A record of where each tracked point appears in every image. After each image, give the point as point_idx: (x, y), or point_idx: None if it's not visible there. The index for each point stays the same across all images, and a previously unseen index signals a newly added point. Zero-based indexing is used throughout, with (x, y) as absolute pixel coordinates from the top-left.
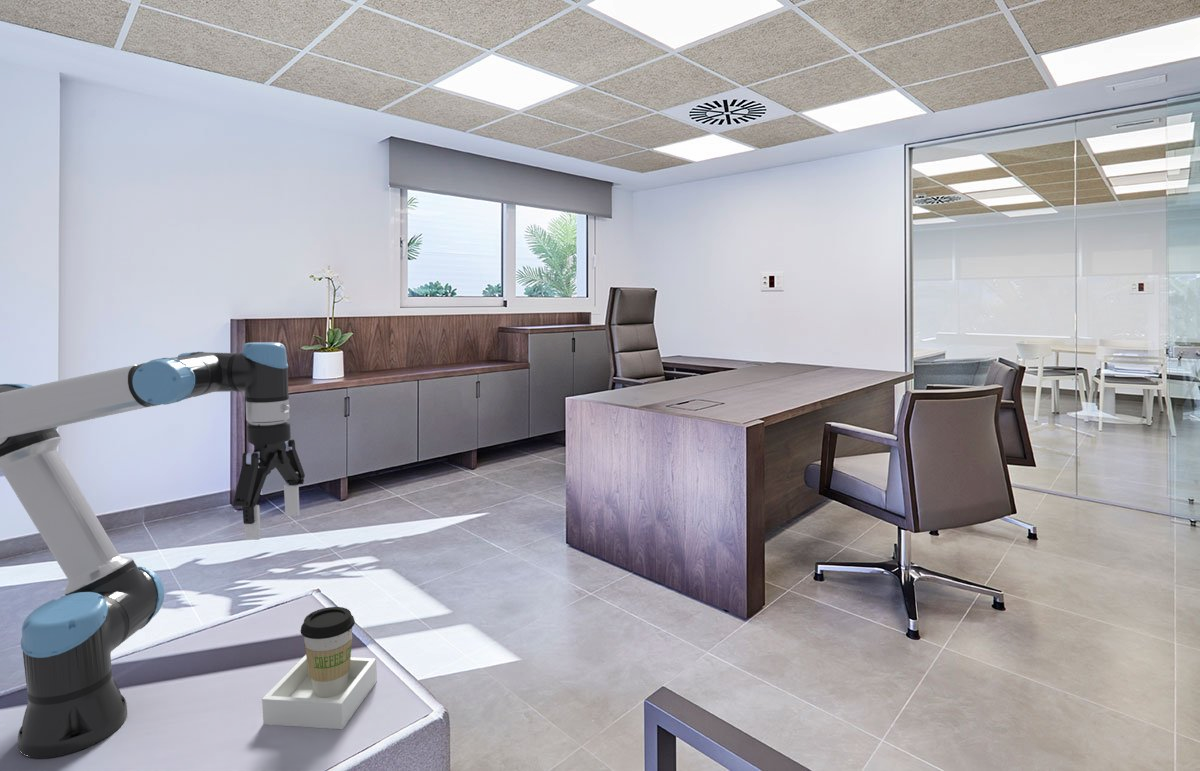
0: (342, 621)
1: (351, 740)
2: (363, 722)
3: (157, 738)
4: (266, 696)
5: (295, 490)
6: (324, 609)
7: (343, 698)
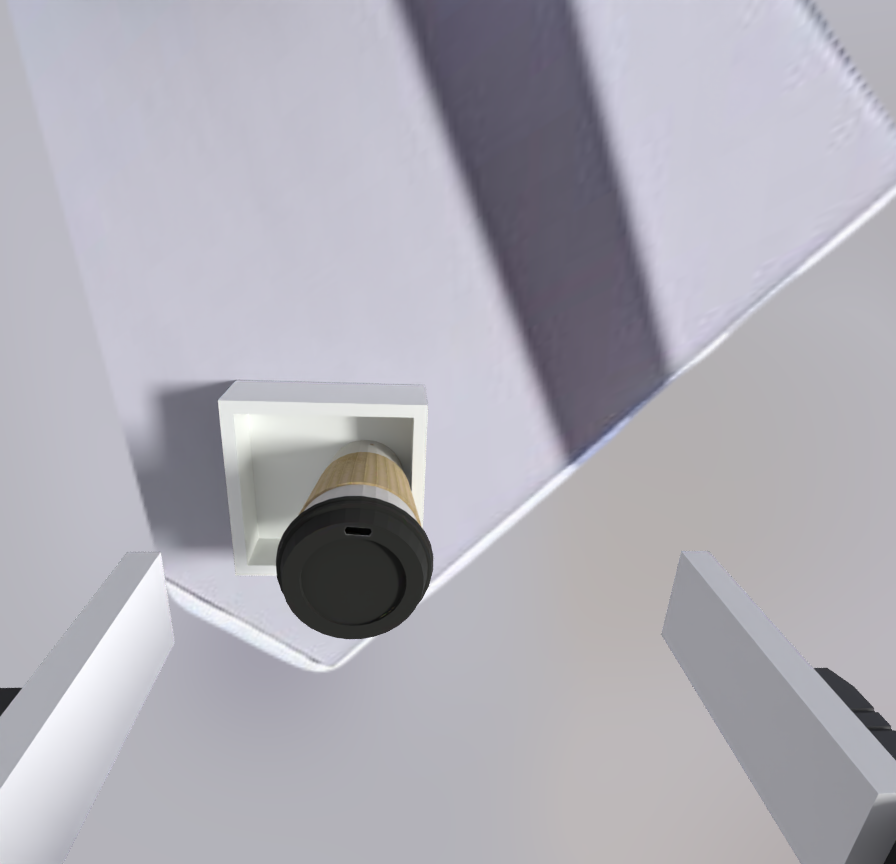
0: (329, 633)
1: (221, 569)
2: None
3: (135, 147)
4: (230, 404)
5: (796, 835)
6: (403, 552)
7: (254, 572)
